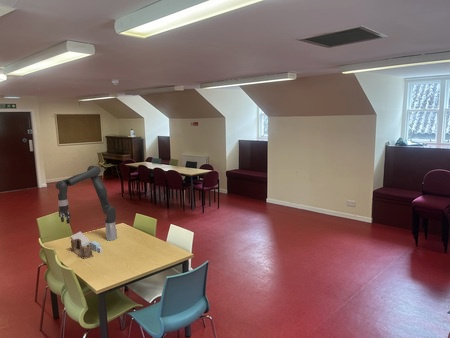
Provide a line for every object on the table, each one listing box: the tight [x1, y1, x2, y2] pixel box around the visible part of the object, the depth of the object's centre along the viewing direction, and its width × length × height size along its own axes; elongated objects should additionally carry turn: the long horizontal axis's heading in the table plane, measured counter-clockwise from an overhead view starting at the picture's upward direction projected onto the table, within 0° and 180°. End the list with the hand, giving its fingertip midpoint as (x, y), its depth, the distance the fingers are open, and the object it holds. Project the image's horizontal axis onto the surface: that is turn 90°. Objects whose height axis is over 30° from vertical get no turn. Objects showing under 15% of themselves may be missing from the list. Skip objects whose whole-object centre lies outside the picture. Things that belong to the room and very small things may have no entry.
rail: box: [89, 240, 103, 254], centre depth 288 cm, size 4×22×6 cm, turn 46°
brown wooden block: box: [70, 239, 94, 260], centre depth 280 cm, size 8×29×9 cm, turn 46°
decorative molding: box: [70, 231, 91, 247], centre depth 309 cm, size 34×5×10 cm
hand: (65, 222), depth 279 cm, fingers open, 8 cm apart
